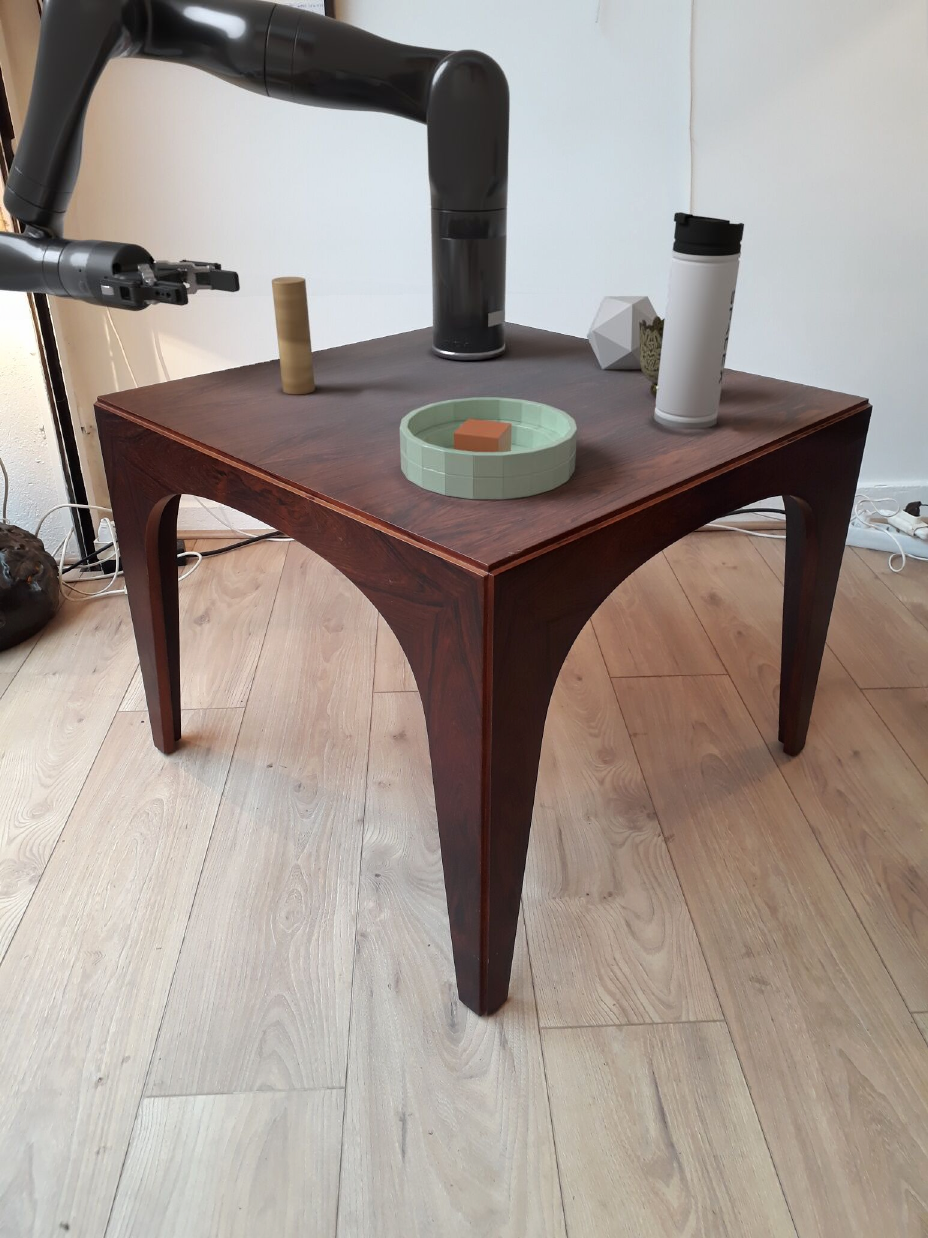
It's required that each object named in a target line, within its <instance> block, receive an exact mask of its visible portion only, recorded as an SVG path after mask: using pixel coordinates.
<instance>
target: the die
mask: <svg viewBox="0 0 928 1238" xmlns="http://www.w3.org/2000/svg"><path fill="white" fill-rule="evenodd" d="M656 316H658V314H657V312H656V309H655V308H654V306H653V304H652V302H651V300H650V298H649V296H647V295H629V296H628V295H625V296H624V295H617V296H616V295H612V296H611V295H610V296H609V295H608V296H607V295H604V296H603V298H602V300H601V302H600V304H599V306H598V309H597V311H596V313H595V316H594V318H593V320H592V323H591V325H590V327H589V330H588V332H587V334H586V338H587V340H588V342H589V344H590V346H591V348H592V350H593V352H594V354H595V357H596V359H597V361H598V363H599V366H600V368H601V370H642V369H641V363H640V328H639V322H641V323H642V320H643V319H644V320H645V321H646V324H647V326H648V324H649V325H653V320H654V318H655V317H656Z"/></svg>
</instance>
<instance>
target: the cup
mask: <svg viewBox="0 0 928 1238" xmlns="http://www.w3.org/2000/svg"><path fill="white" fill-rule="evenodd" d="M664 321H665V317H664V318H663V319H661V317H660V316H658V315H657V316H656V317H655V318H654V320H653V325H649V324H648V326H647V324H646V321H645V320H644V319H643V320H642V323H641V322H639V328H640V363H641V369H640V370H641V371H642V374H643V376H644V377H645V378H646V379H647V380H648V381H649V382H650V383H651V385H650V386H649V387H650V388H649V389H650V393H651V396H653V397H654V398H656V395H657V386H658V377H659V367H660V358H661V349H662V340H663V330H664Z"/></svg>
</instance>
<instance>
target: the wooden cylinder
mask: <svg viewBox="0 0 928 1238" xmlns="http://www.w3.org/2000/svg"><path fill="white" fill-rule="evenodd" d="M271 289H272V298H273V309H274V317H275V327H276V336H277V337H276V338H277V346H278V357H279V365H280V375H281V385H282V386H281V387H282V391H283V393H285V394H288V395H293V396H294V395H295V396H297V395H299V396H300V395H307V394H309V393H312V392H315V389H316V387H315V386H316V385H315V375H314V373H315V372H314V363H313V352H312V340H311V327H310V316H309V304H308V292H307V281H306V278H304V277H300V276H280V277H275V278H273V279H271Z"/></svg>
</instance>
